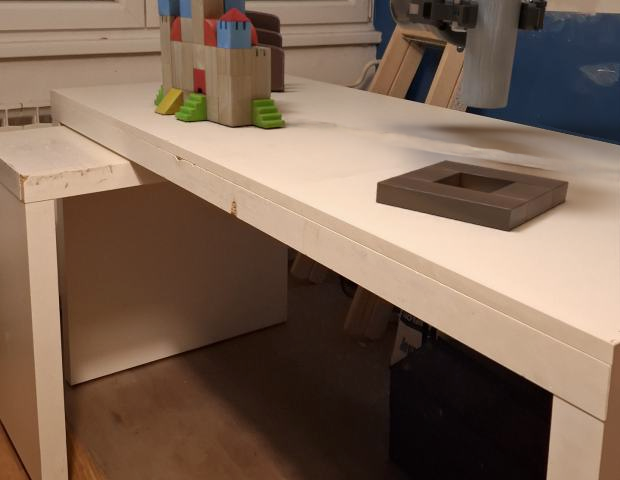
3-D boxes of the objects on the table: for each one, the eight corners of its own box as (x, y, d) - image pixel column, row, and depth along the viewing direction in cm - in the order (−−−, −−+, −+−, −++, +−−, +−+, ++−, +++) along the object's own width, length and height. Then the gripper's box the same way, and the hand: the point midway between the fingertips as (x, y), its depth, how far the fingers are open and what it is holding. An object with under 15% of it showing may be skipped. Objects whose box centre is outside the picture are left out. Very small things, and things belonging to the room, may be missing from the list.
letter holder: (181, 84, 151) (177, 7, 145) (279, 85, 154) (280, 10, 148) (180, 91, 142) (176, 9, 136) (284, 92, 145) (285, 12, 139)
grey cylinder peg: (449, 103, 73) (462, -15, 68) (476, 99, 76) (490, -14, 71) (489, 110, 70) (505, -13, 65) (515, 106, 73) (533, -12, 68)
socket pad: (443, 177, 86) (445, 159, 85) (565, 200, 78) (568, 181, 77) (375, 201, 75) (376, 182, 75) (508, 231, 68) (511, 209, 67)
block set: (303, 125, 113) (307, -17, 105) (222, 133, 105) (219, -20, 97) (207, 100, 133) (204, -21, 125) (133, 105, 125) (124, -24, 117)
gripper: (397, -35, 80) (427, -34, 65) (530, -29, 81) (590, -28, 65) (392, 41, 83) (418, 59, 68) (519, 46, 84) (573, 64, 69)
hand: (502, 16), depth 67 cm, fingers closed on grey cylinder peg, 4 cm apart
